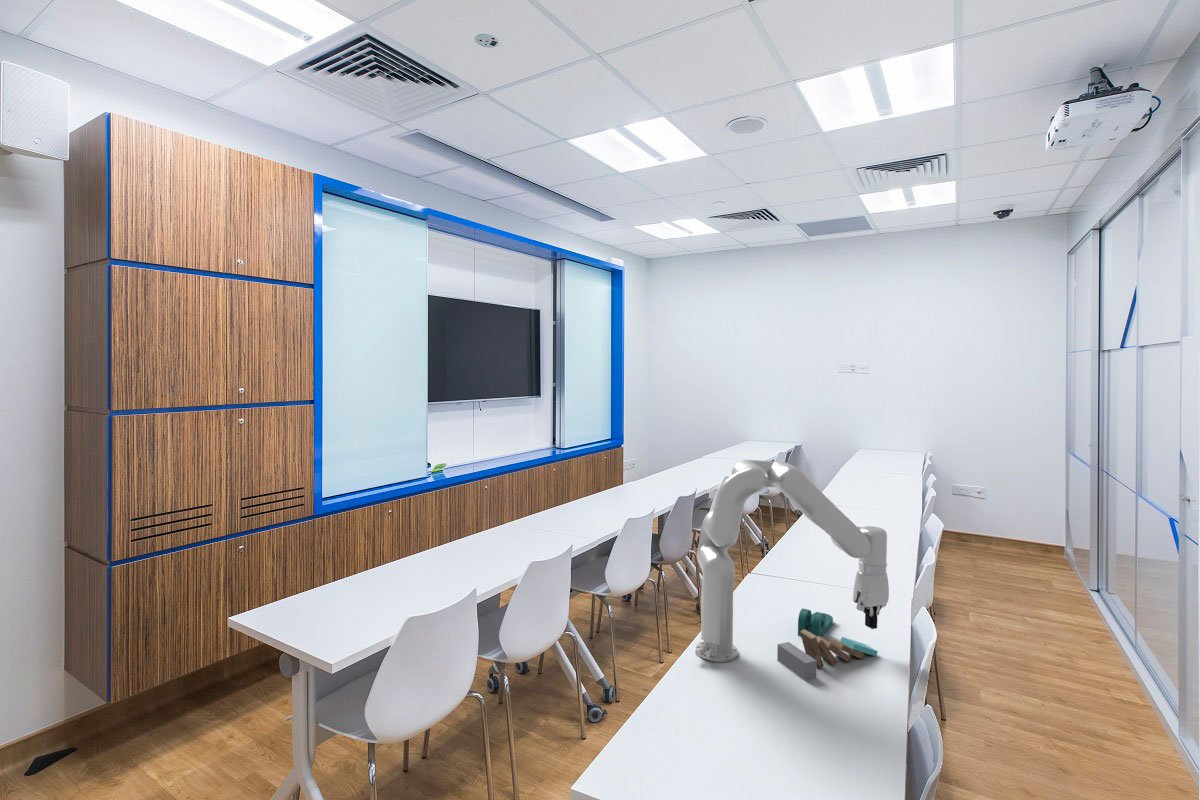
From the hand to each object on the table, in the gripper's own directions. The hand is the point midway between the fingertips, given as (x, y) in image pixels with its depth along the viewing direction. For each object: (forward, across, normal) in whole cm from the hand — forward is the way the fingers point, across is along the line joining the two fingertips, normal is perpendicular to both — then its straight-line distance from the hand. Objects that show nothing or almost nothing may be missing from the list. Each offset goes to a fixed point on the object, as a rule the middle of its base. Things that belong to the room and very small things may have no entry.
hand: (871, 626), depth 176 cm
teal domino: (+7, 0, 0) cm, 7 cm away
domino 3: (+7, +10, 0) cm, 13 cm away
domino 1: (+8, +21, 0) cm, 22 cm away
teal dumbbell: (+8, +4, -19) cm, 21 cm away
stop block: (+8, +28, 0) cm, 29 cm away
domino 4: (+7, +5, 0) cm, 9 cm away
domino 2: (+8, +16, 0) cm, 17 cm away
